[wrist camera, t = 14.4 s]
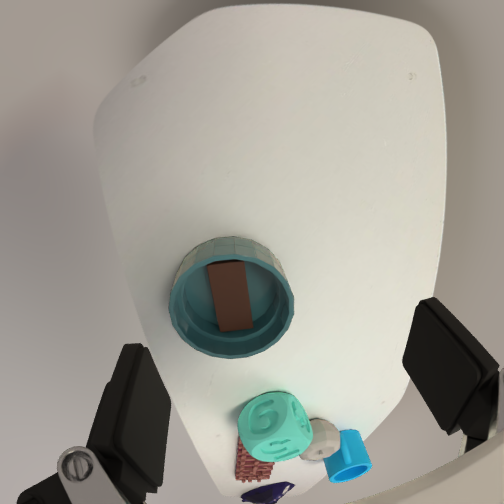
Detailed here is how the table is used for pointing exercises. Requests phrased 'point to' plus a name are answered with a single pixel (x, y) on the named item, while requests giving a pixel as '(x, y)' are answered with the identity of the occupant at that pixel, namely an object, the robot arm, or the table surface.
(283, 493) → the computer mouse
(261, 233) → the table surface
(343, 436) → the mug
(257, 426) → the decorative dice
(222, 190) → the table surface
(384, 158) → the table surface
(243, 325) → the small chocolate
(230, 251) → the bowl
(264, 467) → the red lattice panel
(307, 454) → the apple
